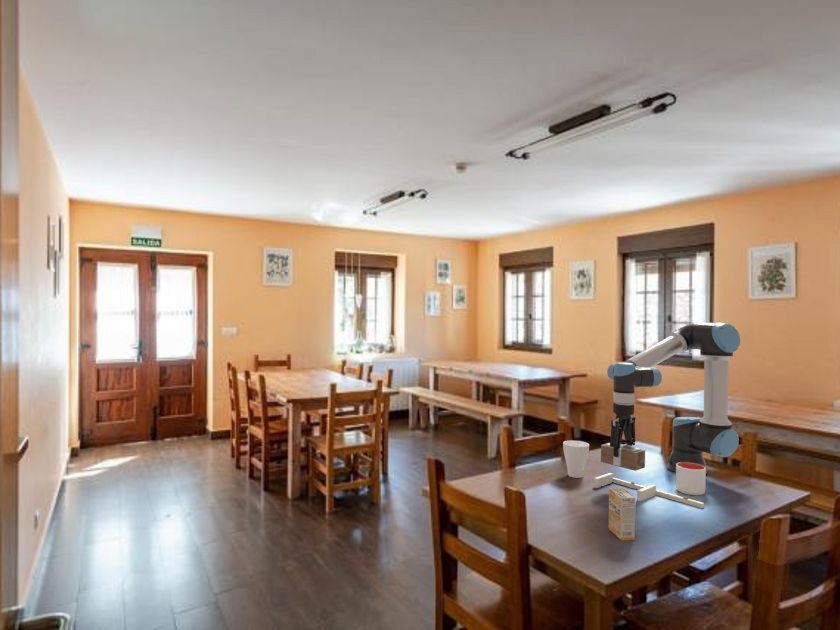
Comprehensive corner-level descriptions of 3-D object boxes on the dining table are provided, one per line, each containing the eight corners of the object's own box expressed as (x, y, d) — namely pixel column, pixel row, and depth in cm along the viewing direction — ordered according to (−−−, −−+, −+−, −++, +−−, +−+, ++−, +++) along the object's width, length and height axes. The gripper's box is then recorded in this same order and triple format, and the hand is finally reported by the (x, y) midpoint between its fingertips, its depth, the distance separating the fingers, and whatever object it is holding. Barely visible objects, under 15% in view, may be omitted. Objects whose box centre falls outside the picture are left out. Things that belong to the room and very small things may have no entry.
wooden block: (610, 458, 204) (611, 440, 204) (644, 467, 193) (645, 448, 193) (600, 461, 199) (601, 443, 199) (635, 470, 188) (635, 451, 188)
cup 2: (709, 497, 191) (709, 470, 191) (680, 495, 193) (680, 468, 193) (700, 488, 201) (700, 463, 201) (672, 486, 203) (672, 461, 203)
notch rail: (610, 480, 209) (610, 471, 209) (703, 507, 181) (704, 497, 181) (593, 486, 201) (593, 477, 201) (688, 515, 173) (688, 505, 173)
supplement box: (607, 529, 162) (608, 487, 162) (622, 528, 162) (622, 487, 162) (619, 541, 154) (620, 497, 153) (635, 540, 154) (636, 497, 154)
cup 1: (591, 474, 216) (592, 442, 216) (585, 481, 207) (585, 448, 207) (566, 470, 222) (567, 439, 222) (559, 476, 213) (559, 444, 213)
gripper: (628, 399, 205) (626, 456, 205) (600, 404, 192) (599, 465, 193) (646, 402, 199) (645, 461, 199) (618, 407, 187) (617, 470, 187)
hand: (622, 463), depth 196 cm, fingers closed on wooden block, 7 cm apart
